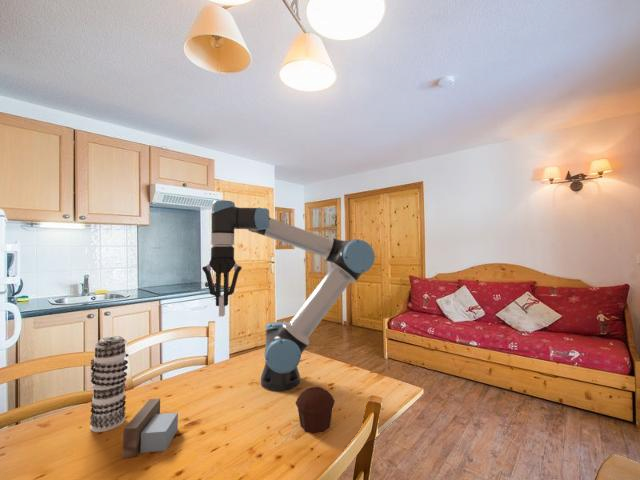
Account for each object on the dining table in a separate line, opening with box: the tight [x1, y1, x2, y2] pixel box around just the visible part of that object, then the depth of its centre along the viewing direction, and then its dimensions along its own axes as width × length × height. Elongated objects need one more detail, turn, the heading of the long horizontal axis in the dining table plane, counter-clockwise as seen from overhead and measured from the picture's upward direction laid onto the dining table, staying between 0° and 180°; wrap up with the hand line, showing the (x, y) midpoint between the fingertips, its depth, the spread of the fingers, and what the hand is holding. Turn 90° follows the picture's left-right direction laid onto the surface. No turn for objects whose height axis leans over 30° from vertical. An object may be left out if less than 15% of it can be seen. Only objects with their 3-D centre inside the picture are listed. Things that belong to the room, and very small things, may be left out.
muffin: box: [295, 386, 336, 434], centre depth 88 cm, size 12×11×10 cm
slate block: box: [139, 412, 179, 454], centre depth 80 cm, size 6×9×5 cm, turn 8°
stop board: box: [122, 398, 161, 459], centre depth 81 cm, size 3×15×7 cm, turn 8°
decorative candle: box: [89, 335, 129, 433], centre depth 88 cm, size 9×9×25 cm
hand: (221, 315), depth 100 cm, fingers closed
